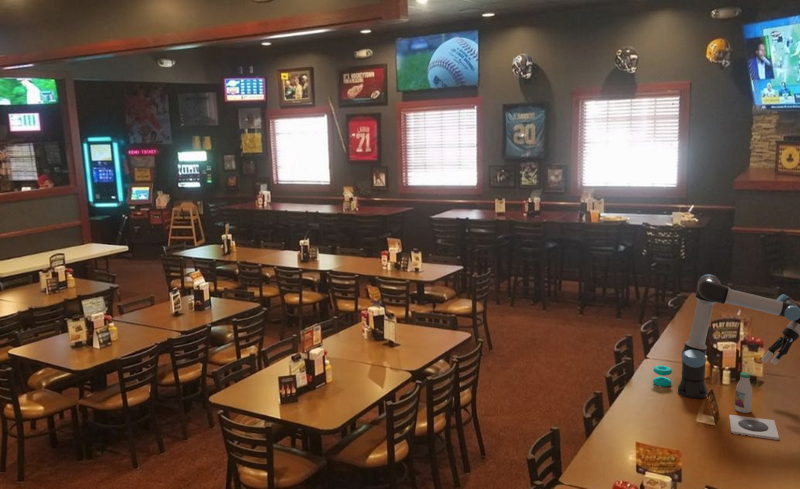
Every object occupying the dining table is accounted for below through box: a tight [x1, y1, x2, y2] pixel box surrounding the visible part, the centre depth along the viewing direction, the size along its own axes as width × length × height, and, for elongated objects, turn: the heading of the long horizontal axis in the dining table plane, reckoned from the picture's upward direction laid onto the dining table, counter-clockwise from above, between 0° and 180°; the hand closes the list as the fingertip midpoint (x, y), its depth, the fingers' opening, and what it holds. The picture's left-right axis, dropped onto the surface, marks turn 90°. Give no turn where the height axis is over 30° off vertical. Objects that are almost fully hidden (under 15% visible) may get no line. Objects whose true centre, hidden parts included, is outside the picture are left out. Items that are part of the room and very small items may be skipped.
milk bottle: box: [734, 371, 753, 414], centre depth 341 cm, size 8×8×20 cm
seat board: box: [728, 414, 780, 441], centre depth 322 cm, size 20×20×1 cm
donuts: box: [652, 365, 673, 388], centre depth 379 cm, size 10×10×10 cm
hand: (767, 362), depth 351 cm, fingers open, 13 cm apart
